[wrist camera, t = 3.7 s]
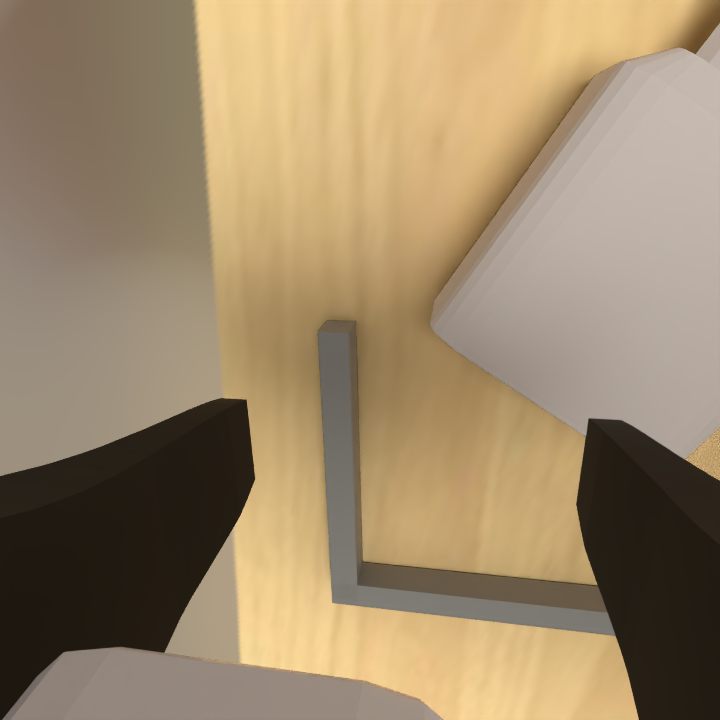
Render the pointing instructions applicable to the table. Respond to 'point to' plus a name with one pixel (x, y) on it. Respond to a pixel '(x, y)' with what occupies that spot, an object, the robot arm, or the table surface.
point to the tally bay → (409, 584)
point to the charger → (609, 259)
